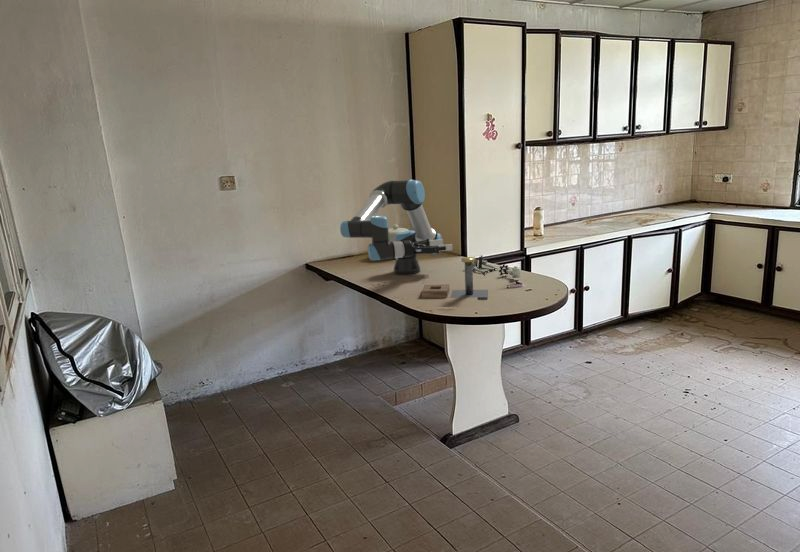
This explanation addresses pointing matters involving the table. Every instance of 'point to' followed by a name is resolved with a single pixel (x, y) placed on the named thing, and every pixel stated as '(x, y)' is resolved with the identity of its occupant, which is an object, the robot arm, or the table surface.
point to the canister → (395, 232)
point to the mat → (476, 293)
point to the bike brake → (481, 262)
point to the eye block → (435, 291)
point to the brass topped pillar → (468, 274)
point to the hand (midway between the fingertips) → (447, 244)
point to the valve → (510, 271)
